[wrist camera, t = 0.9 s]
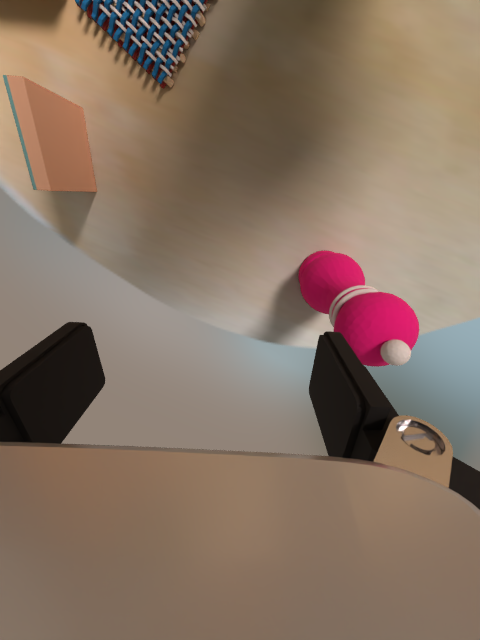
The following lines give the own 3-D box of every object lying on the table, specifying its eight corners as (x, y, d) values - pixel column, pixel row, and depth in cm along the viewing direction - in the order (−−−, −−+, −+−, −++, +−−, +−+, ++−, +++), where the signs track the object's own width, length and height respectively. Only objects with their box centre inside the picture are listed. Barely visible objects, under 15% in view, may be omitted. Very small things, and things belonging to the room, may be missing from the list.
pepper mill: (290, 296, 36) (334, 397, 18) (299, 244, 33) (363, 305, 15) (341, 299, 36) (434, 404, 18) (354, 248, 33) (484, 313, 15)
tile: (67, 106, 27) (2, 74, 20) (82, 108, 27) (23, 76, 20) (83, 190, 30) (33, 189, 23) (96, 191, 30) (50, 190, 23)
